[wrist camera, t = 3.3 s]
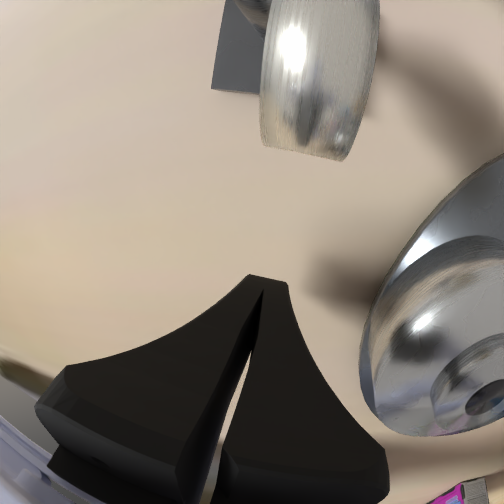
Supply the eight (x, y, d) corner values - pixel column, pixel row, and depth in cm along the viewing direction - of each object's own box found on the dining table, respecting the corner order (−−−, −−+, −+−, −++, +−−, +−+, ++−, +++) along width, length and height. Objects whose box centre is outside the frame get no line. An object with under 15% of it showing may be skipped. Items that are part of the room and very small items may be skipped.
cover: (470, 388, 11) (489, 449, 8) (340, 378, 12) (340, 456, 8) (549, 259, 8) (599, 312, 4) (412, 209, 8) (466, 272, 5)
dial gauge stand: (330, 140, 9) (368, 185, 3) (214, 120, 10) (73, 142, 4) (352, 5, 7) (394, -118, 1) (235, -9, 7) (137, -116, 1)
